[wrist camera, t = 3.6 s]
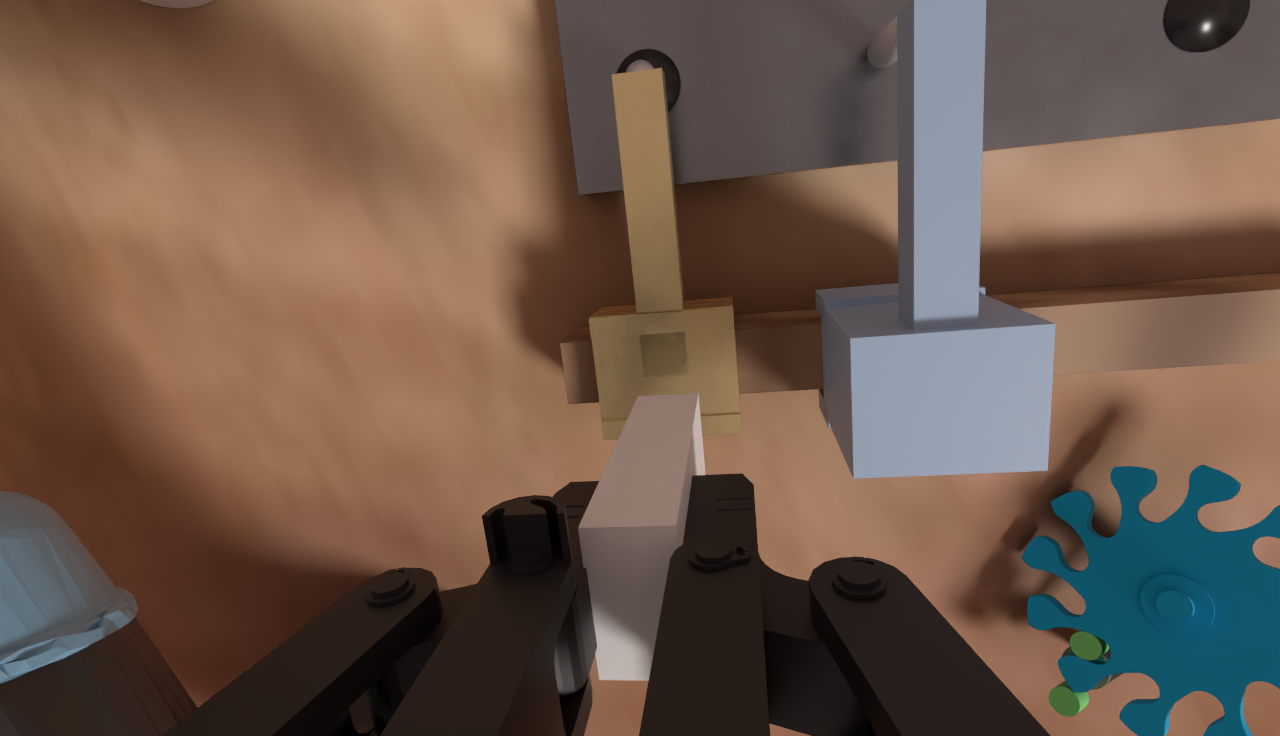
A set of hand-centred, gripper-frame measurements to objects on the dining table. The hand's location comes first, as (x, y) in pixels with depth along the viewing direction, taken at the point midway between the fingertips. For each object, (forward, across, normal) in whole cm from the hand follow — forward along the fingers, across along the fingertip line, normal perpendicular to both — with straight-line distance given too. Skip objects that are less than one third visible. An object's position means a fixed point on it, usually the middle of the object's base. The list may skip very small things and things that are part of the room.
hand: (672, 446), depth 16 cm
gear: (+12, +16, -10) cm, 23 cm away
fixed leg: (+10, -1, +4) cm, 10 cm away
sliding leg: (+10, +7, +4) cm, 13 cm away
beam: (+11, +9, 0) cm, 15 cm away
